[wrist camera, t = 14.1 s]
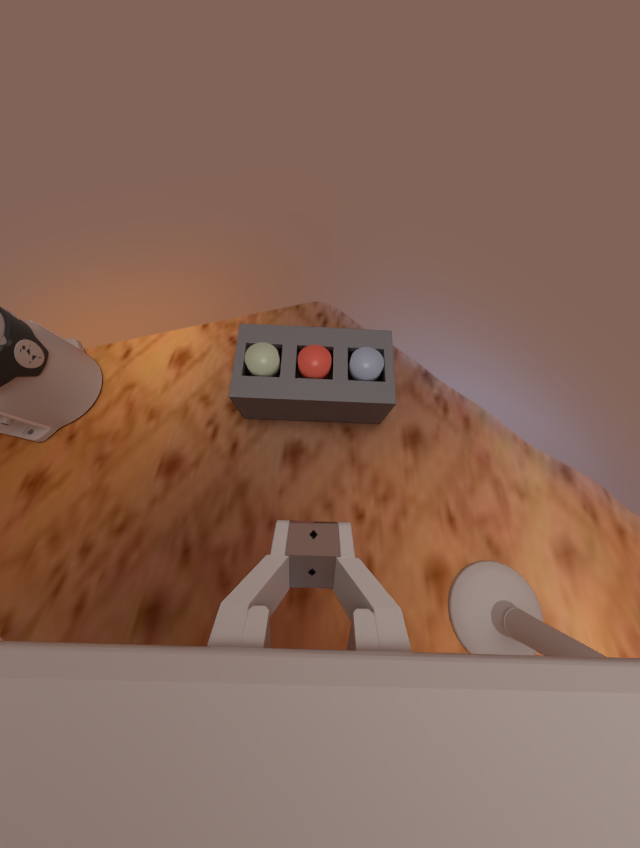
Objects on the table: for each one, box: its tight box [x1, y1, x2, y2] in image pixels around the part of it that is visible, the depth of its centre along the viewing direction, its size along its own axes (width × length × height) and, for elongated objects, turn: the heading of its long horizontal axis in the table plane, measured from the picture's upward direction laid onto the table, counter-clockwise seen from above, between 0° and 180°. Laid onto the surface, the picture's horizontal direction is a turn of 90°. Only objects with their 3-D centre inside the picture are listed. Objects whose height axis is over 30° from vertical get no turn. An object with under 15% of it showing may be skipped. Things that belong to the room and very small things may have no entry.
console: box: [229, 324, 396, 424], centre depth 43 cm, size 23×12×9 cm, turn 88°
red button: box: [298, 345, 332, 379], centre depth 40 cm, size 5×5×4 cm
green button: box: [245, 342, 281, 377], centre depth 40 cm, size 5×5×4 cm
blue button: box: [348, 347, 384, 381], centre depth 40 cm, size 5×5×4 cm
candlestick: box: [448, 561, 606, 657], centre depth 24 cm, size 13×13×30 cm
